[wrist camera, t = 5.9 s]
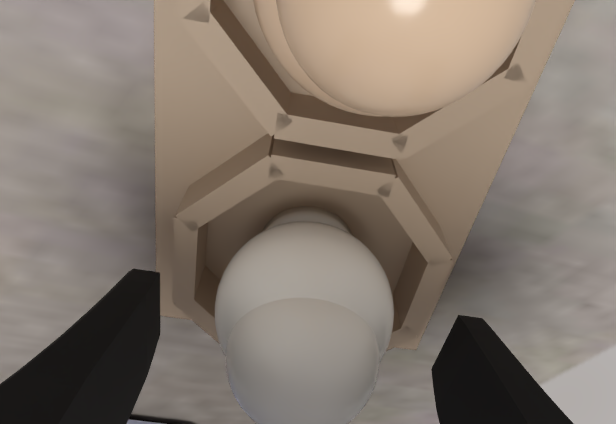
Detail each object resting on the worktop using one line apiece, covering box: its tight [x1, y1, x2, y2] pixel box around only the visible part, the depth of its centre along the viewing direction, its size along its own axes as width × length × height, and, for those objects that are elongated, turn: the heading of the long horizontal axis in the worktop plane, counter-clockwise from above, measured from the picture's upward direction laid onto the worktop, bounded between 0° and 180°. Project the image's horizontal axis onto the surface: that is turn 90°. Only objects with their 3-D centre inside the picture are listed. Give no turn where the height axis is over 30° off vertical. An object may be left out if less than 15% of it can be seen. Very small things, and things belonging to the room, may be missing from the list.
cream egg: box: [215, 206, 394, 424], centre depth 11 cm, size 4×4×6 cm
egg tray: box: [154, 0, 575, 351], centre depth 11 cm, size 15×9×2 cm, turn 170°
